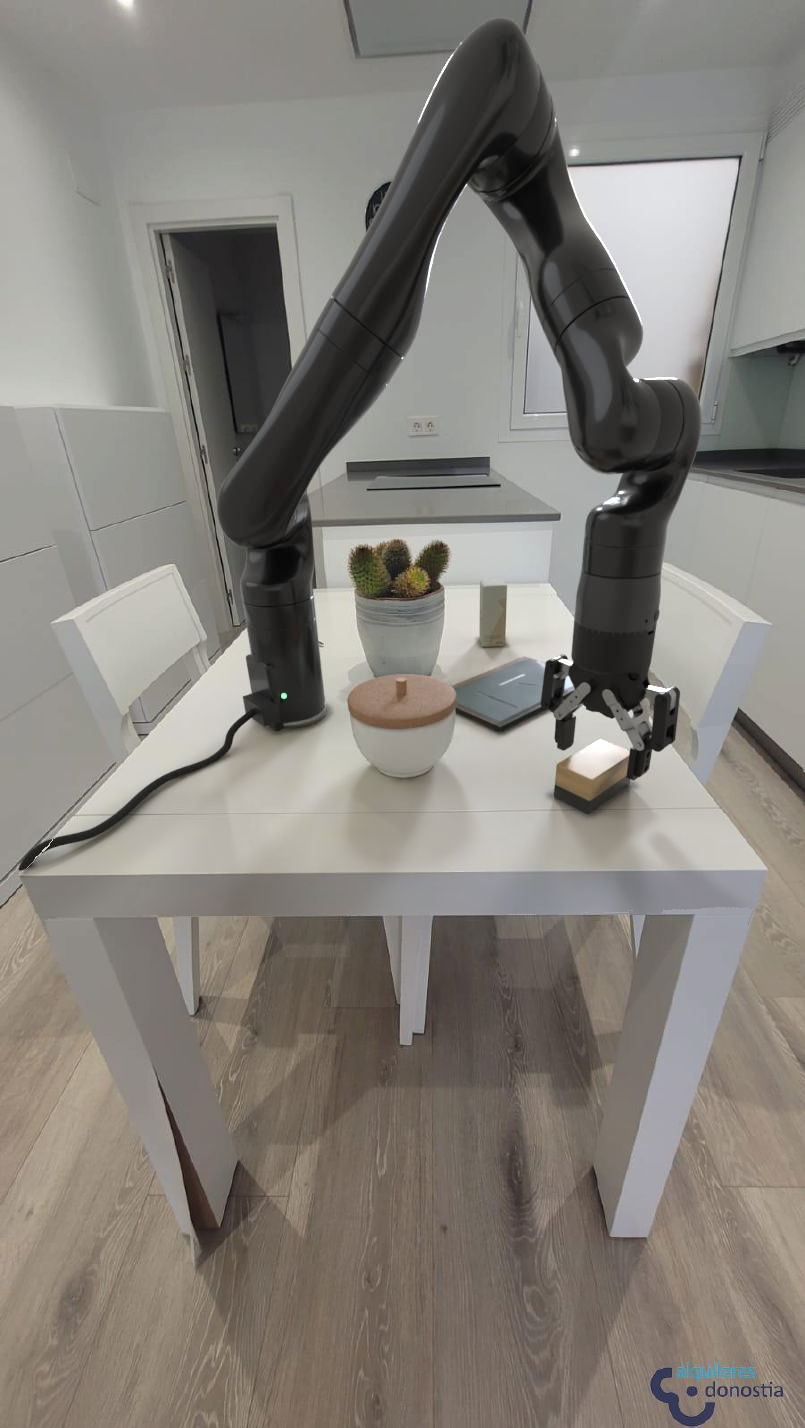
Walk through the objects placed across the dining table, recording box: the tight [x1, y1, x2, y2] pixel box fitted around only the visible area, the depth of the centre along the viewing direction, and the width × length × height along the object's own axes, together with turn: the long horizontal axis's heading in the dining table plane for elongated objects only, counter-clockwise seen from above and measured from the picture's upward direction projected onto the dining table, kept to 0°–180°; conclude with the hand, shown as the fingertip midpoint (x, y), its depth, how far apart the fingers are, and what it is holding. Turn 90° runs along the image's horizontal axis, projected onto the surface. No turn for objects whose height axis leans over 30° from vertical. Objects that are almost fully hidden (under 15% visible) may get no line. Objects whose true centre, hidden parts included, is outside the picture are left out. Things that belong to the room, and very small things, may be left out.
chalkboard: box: [451, 655, 575, 733], centre depth 89 cm, size 22×14×1 cm, turn 130°
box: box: [478, 578, 508, 647], centre depth 107 cm, size 5×4×11 cm
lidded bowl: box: [346, 673, 457, 779], centre depth 70 cm, size 13×13×11 cm
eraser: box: [553, 738, 631, 814], centre depth 65 cm, size 8×4×4 cm, turn 130°
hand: (598, 761), depth 64 cm, fingers open, 8 cm apart
